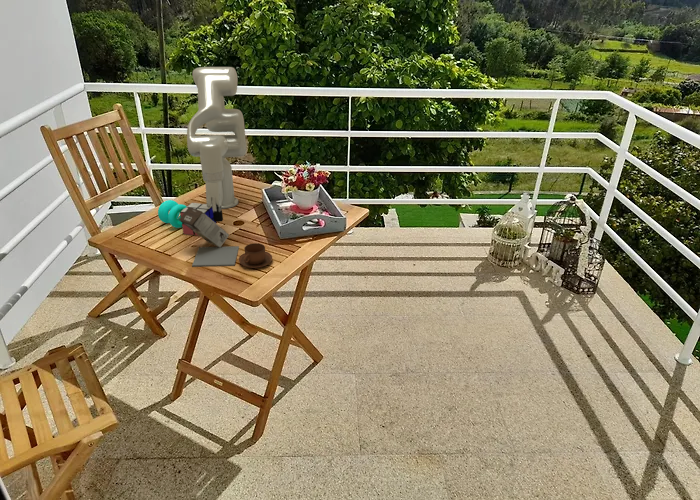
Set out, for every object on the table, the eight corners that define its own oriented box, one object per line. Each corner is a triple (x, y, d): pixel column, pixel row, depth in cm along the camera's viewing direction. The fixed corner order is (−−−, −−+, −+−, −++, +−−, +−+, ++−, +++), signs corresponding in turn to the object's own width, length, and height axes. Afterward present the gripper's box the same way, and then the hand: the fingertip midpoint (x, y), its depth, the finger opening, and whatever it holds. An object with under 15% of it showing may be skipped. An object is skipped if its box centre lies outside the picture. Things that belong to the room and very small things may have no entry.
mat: (199, 248, 191) (199, 247, 191) (239, 247, 192) (238, 246, 192) (192, 266, 179) (191, 265, 179) (234, 265, 180) (234, 264, 180)
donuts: (173, 232, 203) (169, 209, 199) (158, 225, 209) (154, 203, 204) (193, 224, 210) (190, 202, 206) (178, 217, 216) (175, 196, 211)
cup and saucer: (266, 272, 177) (265, 257, 174) (234, 269, 178) (232, 254, 175) (276, 256, 187) (275, 241, 184) (245, 253, 189) (244, 238, 186)
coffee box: (207, 242, 196) (178, 220, 184) (216, 229, 198) (188, 205, 186) (220, 248, 190) (191, 225, 178) (230, 234, 192) (201, 210, 180)
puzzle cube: (206, 237, 200) (203, 214, 195) (183, 234, 202) (179, 211, 197) (216, 226, 209) (214, 204, 204) (194, 224, 210) (191, 202, 206)
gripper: (206, 168, 189) (211, 213, 198) (199, 182, 176) (205, 229, 185) (226, 168, 190) (230, 212, 198) (220, 182, 177) (225, 229, 185)
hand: (218, 220), depth 192 cm, fingers closed
